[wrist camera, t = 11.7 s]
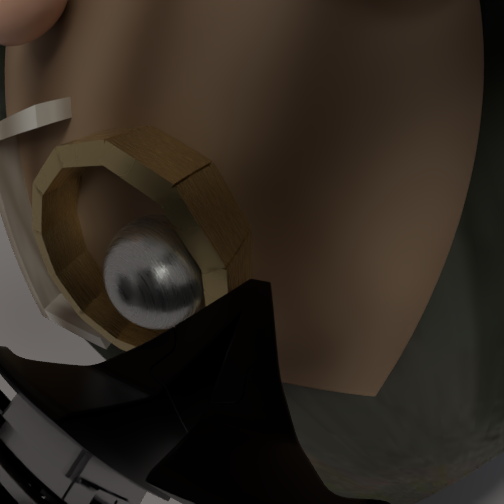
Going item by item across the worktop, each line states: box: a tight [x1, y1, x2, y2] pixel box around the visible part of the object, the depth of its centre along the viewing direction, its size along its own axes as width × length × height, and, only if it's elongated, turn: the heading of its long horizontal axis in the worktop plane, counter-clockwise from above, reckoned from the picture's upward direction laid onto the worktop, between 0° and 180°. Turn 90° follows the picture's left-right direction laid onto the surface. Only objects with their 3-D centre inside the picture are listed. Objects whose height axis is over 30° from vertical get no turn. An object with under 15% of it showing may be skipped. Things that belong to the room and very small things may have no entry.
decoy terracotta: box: [0, 0, 68, 47], centre depth 5 cm, size 4×4×4 cm
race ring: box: [32, 125, 252, 351], centre depth 11 cm, size 10×10×2 cm
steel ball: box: [103, 214, 205, 330], centre depth 10 cm, size 4×4×4 cm
